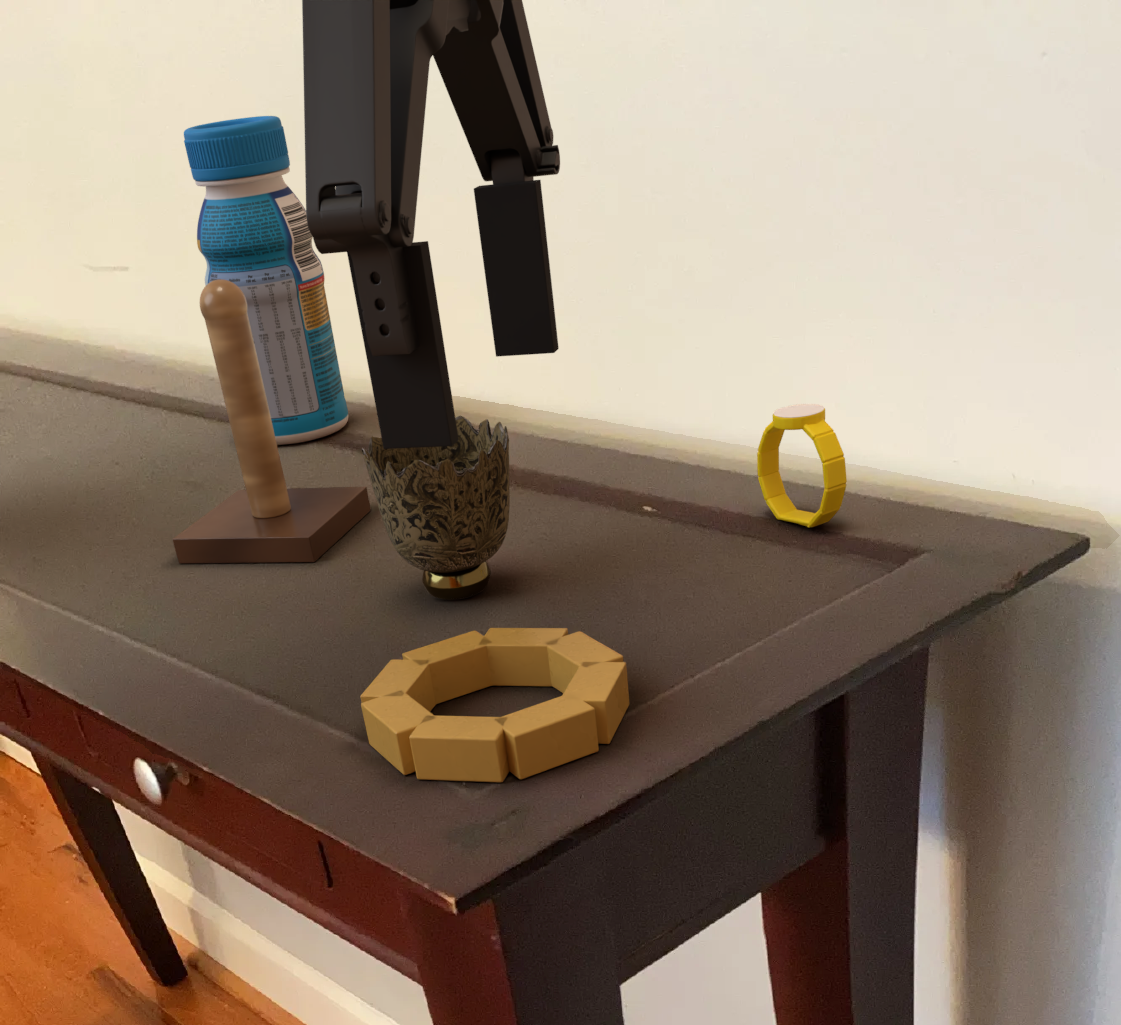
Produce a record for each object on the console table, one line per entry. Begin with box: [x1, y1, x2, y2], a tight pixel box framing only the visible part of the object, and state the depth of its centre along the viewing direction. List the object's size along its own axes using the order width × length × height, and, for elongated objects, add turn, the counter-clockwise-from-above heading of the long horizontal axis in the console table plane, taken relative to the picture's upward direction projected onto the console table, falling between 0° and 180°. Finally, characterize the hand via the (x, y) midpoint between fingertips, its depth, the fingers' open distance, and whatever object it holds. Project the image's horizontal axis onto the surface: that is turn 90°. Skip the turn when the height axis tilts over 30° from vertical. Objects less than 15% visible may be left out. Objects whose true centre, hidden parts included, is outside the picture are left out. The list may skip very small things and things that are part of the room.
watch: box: [756, 403, 848, 528], centre depth 74 cm, size 6×3×6 cm, turn 32°
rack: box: [172, 279, 372, 564], centre depth 80 cm, size 9×9×14 cm
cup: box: [361, 415, 511, 601], centre depth 71 cm, size 8×7×8 cm
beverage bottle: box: [183, 115, 350, 446], centre depth 98 cm, size 8×8×20 cm
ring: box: [359, 627, 630, 783], centre depth 59 cm, size 11×11×2 cm
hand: (479, 395), depth 55 cm, fingers open, 13 cm apart
